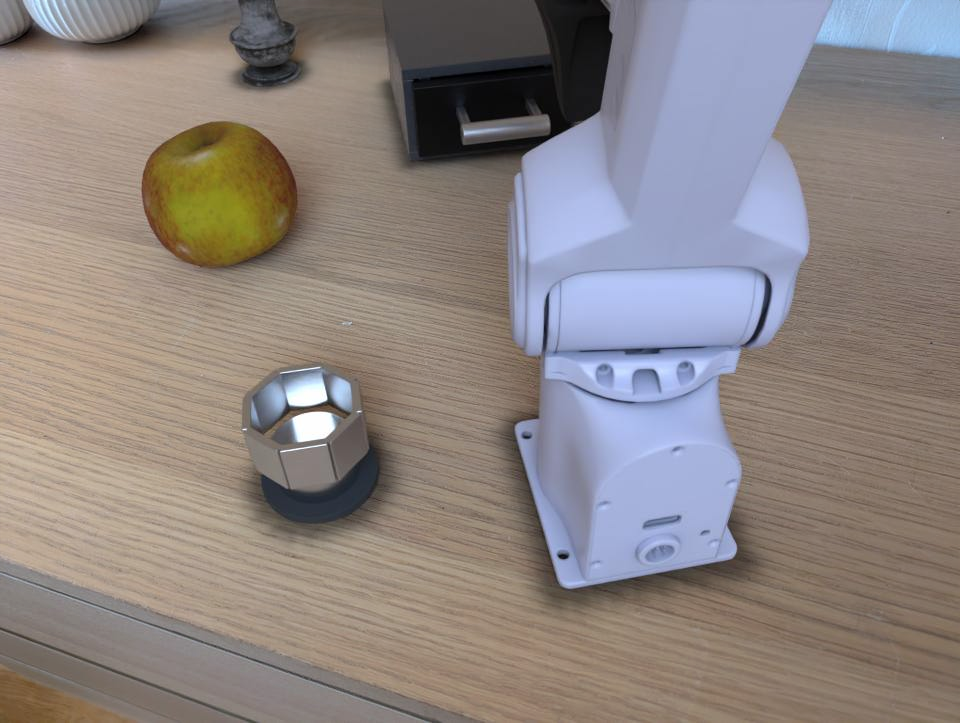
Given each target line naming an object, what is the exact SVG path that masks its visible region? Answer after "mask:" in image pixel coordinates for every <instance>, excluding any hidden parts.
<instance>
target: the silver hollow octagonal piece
mask: <svg viewBox="0 0 960 723" xmlns="http://www.w3.org/2000/svg"><path fill="white" fill-rule="evenodd" d="M241 406H242V408H241V432H242V435H243V438H244V441H245V444H246V447H247V450H248V453H249V456H250V458H251V462H252V465H253V467H254V468H255V470H256V472H259V473H260V474H261V475H262V474H263V475H265V476H267V477H268V478H270V479H272V480H273V481H275V482H277V483H278V486H279V488H280V489H281V491H282V492H283V493H284V494H285V495H287V496H288V497H289V498H291V499H293V500H296V501H298V502H303V503H321V502H326V501H329V500H332V499H334V498H336V497H338V496H340V495H342V494H343V493H344V492H346V491H347V490H348V489H349V488H350V487H351V486H352V485H353V483H354V482H355V480H356V479H357V477H358V474H359V471H360V460H361V459H362V458H363V457H364V456H365V455H366V454H367V453H368V450H369V443H370V442H369V436H368V435H369V434H368V426H367V418H366V413H365V407H364V402H363V396H362V390H361V385H360V381H359V380H358V378H357V377H355V376H354V375H351V374H349V373H347V372H345V371H343V370H341V369H340V368H337V367H336V366H333V365H331V364H329V363H327V362H325V361H324V362H322V361H316V362H310V363H303V364H296V365H290V366H283V367H278V369H274V370H273V371H272V372H270V373H269V374H268V375H267V376H265V377H263V379H262V380H261V381H259V382H258V383H257V384H256V385H255V386H253V387H252V388H251V389H250V390H249V391H247V392H246V393H245V394H244V397H242V405H241ZM321 407H331V408H333V409H334V410H337V411H339V412H340V413H342V414H345V416H346V418H344V417H342V416H340V415H338V414H336V413H332V412H329V411H309V412H305V413H301V414H297V415H296V416H295V415H294V416H293V417H291V418H290V419H287V420H286V421H284V422H283V424H281V425H280V426H279V427H278V428H277V429H276V430H275V431H274V433H273V434H272V436H271V438H270V437H268V436H267V435H266V434H267V433H268V432H269V431H270V430H271V429H272V428H273V427H275V426H276V425H277V424H278V423H279V422H280V421H281V420H283V419H284V418H285V417H286V416H287V415H288V414H289V413H291V412H296V411H301V410H309V409H315V408H321ZM368 442H369V443H368Z"/></svg>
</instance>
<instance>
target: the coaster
mask: <svg viewBox="0 0 960 723" xmlns="http://www.w3.org/2000/svg"><path fill="white" fill-rule="evenodd" d="M368 443H369V450H368V453H367V454H366V455H365V456H364V457H363V458H362V459H361V460H360V471H359V474H358V477H357V479H356V480H355V482H354V483H353V485H352V486H351V487H350V488H349V489H348V490H347V491H346V492H344V493H343V494H342V495H340V496H338V497H336V498H334V499H332V500H329V501H326V502H321V503H303V502H298V501H296V500H293V499H291V498H289V497H288V496H287V495H285V494H284V493H283V492H282V491H281V489H280V488H279V486H278V483H277V482H275V481H273V480H272V479H270V478H268V477H267V476H265V475H263V474H262V473H261V476H260V478H261V479H260V483H261V489H262V493H263V495H264V498H265V500H266V502H267V504H268V505H269V507H270V508H271V509H272V510H273V511H274V512H275V513H277V514H278V515H279V516H281V517H283V518H285V519H287V520H289V521H292V522H295V523H299V524H306V525H307V524H308V525H313V524H315V525H316V524H325V523H329V522H333V521H337V520H339V519H341V518H344V517H346V516H348V515H350V514H351V513H353V512H355V511H356V510H357V509H359V508H360V507H361V506H363V504H365V503H366V502H367V501H368V499H369V498H370V497H371V496H372V494H373V492H374V491H375V489H376V487H377V484H378V480H379V476H380V464H379V459H378V455H377V452H376V450H375V448H374V447H373V444H371V443H370V442H369V441H368Z"/></svg>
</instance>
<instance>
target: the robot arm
mask: <svg viewBox="0 0 960 723" xmlns="http://www.w3.org/2000/svg"><path fill="white" fill-rule="evenodd" d="M534 1H535V3H536V5H537V8H538V11H539V13H540V16H541V19H542V22H543V25H544V29H545V32H546V36H547V40H548V44H549V49H550V55H551V60H552V67H553V73H554V80H555V86H556V92H557V97H558V102H559V106H560V109H561V112H562V114H563V116H564V118H565V119H566V121H567V122H569V123H571V122H574V123H578V124H576V125H574V127H572V128H570V129H568V130H567V131H565V132H563V133H561V134H559V135H557V136H555V137H553V138H551V139H550V140H548V141H546V142H544V143H543V144H541V145H539V146H535V147H533V148H532V149H531V150H529V151H527V152H525V154H524V155H523V156H522V157H521V162H520V163H521V164H520V165H521V166H520V167H521V168H520V171H519V172H517V173H516V174H515V176H514V177H513V189H512V198H511V199H510V200H509V202H508V204H507V221H506V223H507V224H506V226H507V227H506V228H507V232H506V234H507V237H506V238H507V279H508V281H507V282H508V303H509V304H508V306H509V318H510V319H509V321H510V322H509V323H510V331H511V340H512V342H513V343H514V344H516V345H517V346H518V347H519V348H520V349H522V351H523V353H524V355H525V356H527V357H540V365H539V366H540V369H539V370H540V371H539V376H540V377H539V400H538V401H539V402H538V418H533V419H526V420H521V421H518V422H517V423H516V424H515V425H514V437H515V439H516V443H517V446H518V449H519V454H520V456H521V460H522V463H523V467H524V471H525V474H526V477H527V480H528V484H529V488H530V491H531V494H532V498H533V501H534V503H535V504H534V505H535V509H536V511H537V516H538V518H539V522H540V525H541V529H542V533H543V536H544V539H545V542H546V545H547V549H548V552H549V556H550V559H551V563H552V566H553V570H554V573H555V576H556V580H557V582H558V584H559V585H560V587H562V588H565V589H567V590H572V589H573V590H574V589H578V588H584V587H589V586H595V585H600V584H605V583H611V582H616V581H623V580H627V579H632V578H636V577H642V576H643V577H644V576H648V575H655V574H660V573H665V572H666V573H667V572H670V571H676V570H681V569H687V568H693V567H698V566H703V565H708V564H714V563H720V562H725V561H730V560H732V559H734V558H735V556H736V555H737V552H738V545H737V543H736V540H735V539H734V536H733V534H732V533H731V530H730V528H729V526H728V522H729V520H730V517H731V513H732V510H733V506H734V503H735V500H736V497H737V494H738V490H739V487H740V484H741V480H742V473H743V469H742V463H741V460H740V457H739V454H738V451H737V450H736V448H735V446H734V444H733V441H732V439H731V437H730V434H729V432H728V430H727V427H726V425H725V420H724V417H723V412H722V408H721V404H720V384H719V382H720V375H721V376H722V375H724V374H725V375H726V374H733V373H736V371H737V367H738V365H739V364H738V363H739V360H740V355H741V351H742V347H743V348H744V349H747V350H752V349H760V348H763V347H765V346H768V344H770V343H771V341H773V338H774V337H775V336H776V335H777V332H779V330H780V329H781V328H782V326H783V325H784V323H785V322H786V320H787V318H788V316H789V313H790V311H791V308H792V303H793V299H794V295H795V289H796V288H795V287H796V280H797V278H798V273H799V271H800V268H801V265H802V263H803V262H804V260H805V258H806V257H807V255H808V253H809V250H810V249H809V248H810V244H811V238H810V236H811V235H810V229H809V227H810V226H809V219H808V218H809V217H808V211H807V206H806V202H805V197H804V192H803V190H802V186H801V183H800V179H799V175H798V172H797V169H796V167H795V165H794V162H793V158H791V156H790V154H789V152H788V150H787V149H786V147H785V145H784V144H782V143H781V142H780V141H779V140H777V138H774V137H773V133H774V131H775V130H776V127H777V124H778V122H779V120H780V118H781V116H782V114H783V111H784V110H785V107H786V105H787V103H788V100H789V99H790V96H791V94H792V92H793V90H794V88H795V85H796V84H797V81H798V79H799V77H800V75H801V72H802V70H803V69H804V66H805V64H806V62H807V59H808V57H809V55H810V53H811V51H812V48H813V47H814V44H815V42H816V40H817V37H818V36H819V33H820V32H821V29H822V27H823V24H824V22H825V20H826V18H827V16H828V14H829V11H830V10H831V8H832V5H833V3H834V1H835V0H534ZM579 122H580V123H579ZM525 437H529V438H525ZM560 555H565V556H567V558H565V559H563V558H560V557H559V556H560Z"/></svg>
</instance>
